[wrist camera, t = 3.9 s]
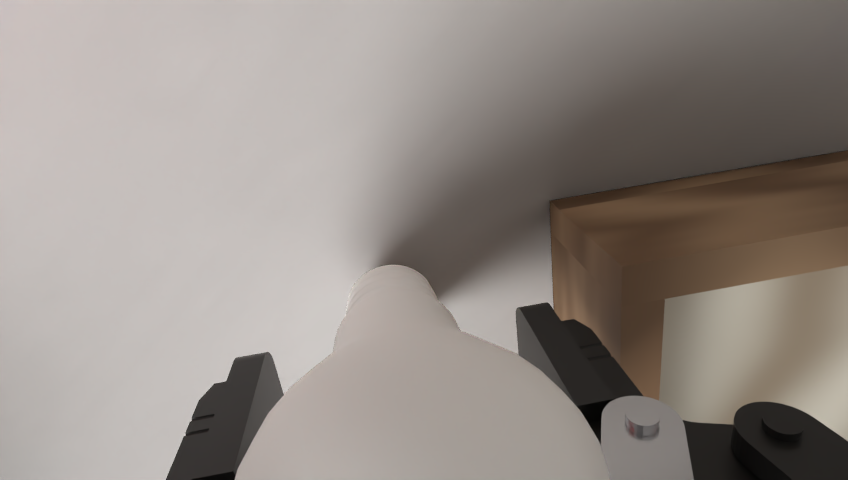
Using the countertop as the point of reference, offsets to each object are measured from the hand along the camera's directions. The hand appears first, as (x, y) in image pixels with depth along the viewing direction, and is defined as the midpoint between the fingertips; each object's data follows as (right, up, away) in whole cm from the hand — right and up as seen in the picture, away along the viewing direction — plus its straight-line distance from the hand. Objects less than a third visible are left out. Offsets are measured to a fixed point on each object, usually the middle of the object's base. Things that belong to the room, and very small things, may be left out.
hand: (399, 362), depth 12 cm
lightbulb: (-1, +1, +3) cm, 4 cm away
